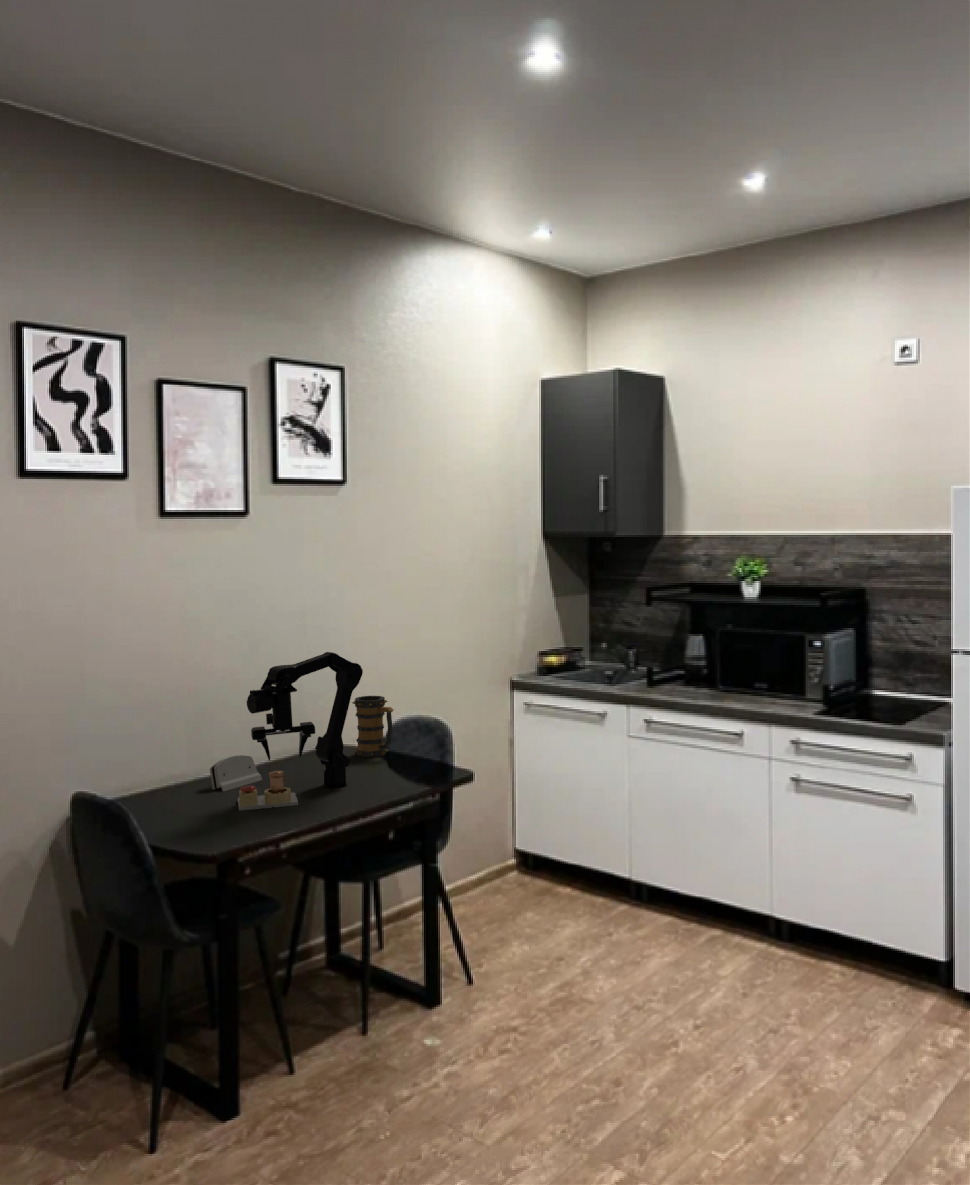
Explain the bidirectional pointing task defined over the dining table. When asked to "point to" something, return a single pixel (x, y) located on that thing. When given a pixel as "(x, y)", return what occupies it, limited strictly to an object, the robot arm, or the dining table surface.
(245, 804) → the panel with octagonal sockets
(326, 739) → the robot arm
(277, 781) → the pipe stub
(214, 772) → the hinge
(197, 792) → the dining table surface
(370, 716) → the mug
